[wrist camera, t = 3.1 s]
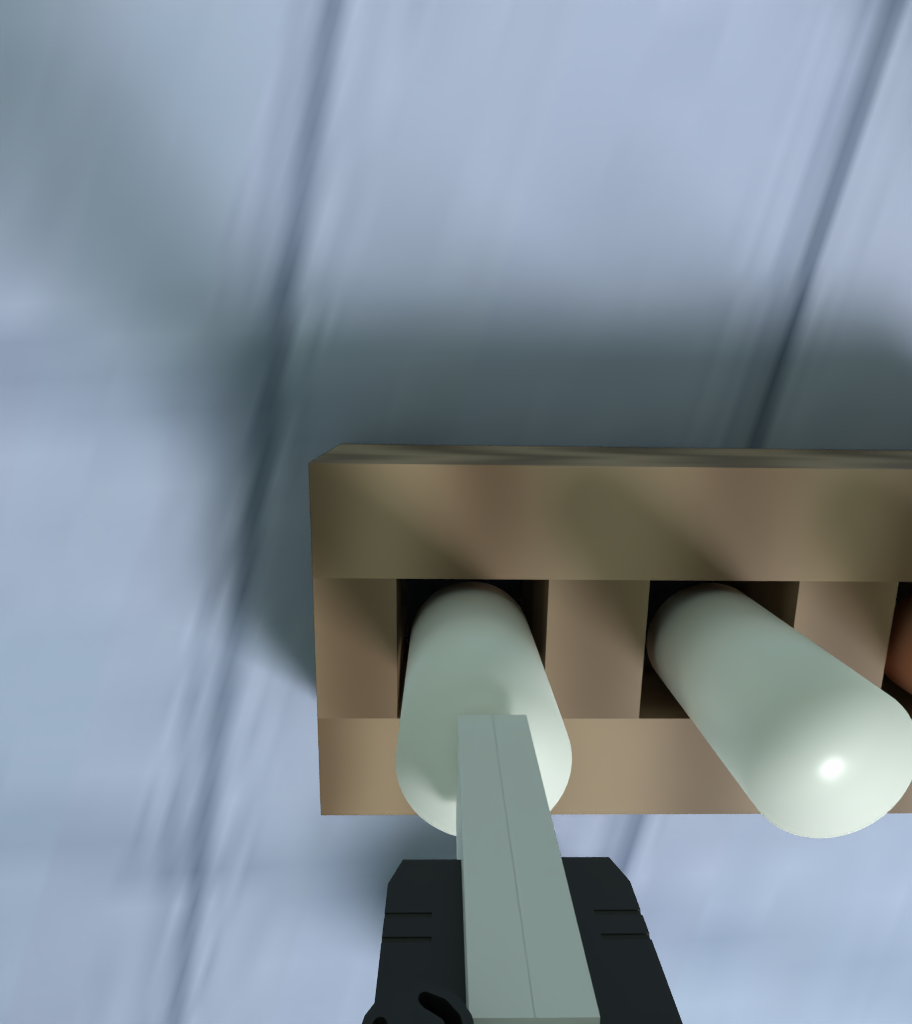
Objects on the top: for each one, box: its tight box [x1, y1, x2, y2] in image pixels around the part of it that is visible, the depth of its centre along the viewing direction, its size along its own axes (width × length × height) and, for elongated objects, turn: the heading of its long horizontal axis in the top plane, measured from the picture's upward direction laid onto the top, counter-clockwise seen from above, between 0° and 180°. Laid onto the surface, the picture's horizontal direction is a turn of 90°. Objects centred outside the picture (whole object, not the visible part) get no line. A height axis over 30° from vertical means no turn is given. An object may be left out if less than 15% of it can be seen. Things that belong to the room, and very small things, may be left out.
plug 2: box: [646, 583, 912, 838], centre depth 18 cm, size 4×4×7 cm
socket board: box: [309, 444, 912, 815], centre depth 23 cm, size 26×12×6 cm, turn 89°
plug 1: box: [395, 581, 572, 836], centre depth 17 cm, size 4×4×7 cm
